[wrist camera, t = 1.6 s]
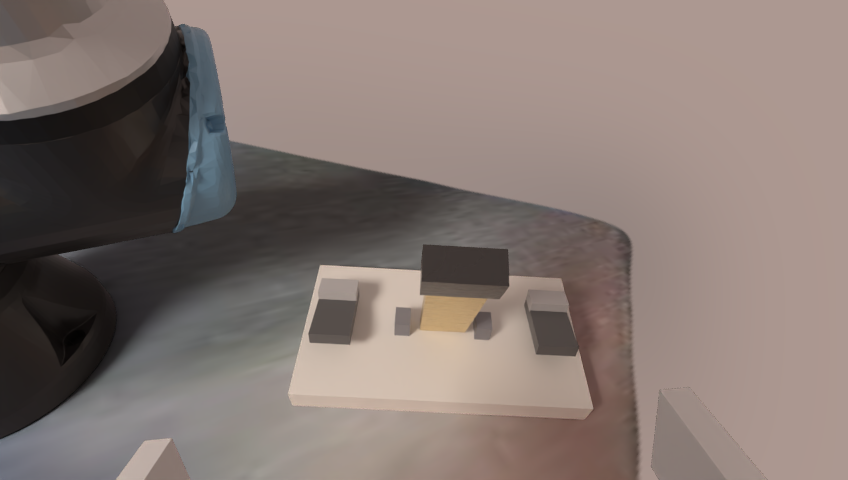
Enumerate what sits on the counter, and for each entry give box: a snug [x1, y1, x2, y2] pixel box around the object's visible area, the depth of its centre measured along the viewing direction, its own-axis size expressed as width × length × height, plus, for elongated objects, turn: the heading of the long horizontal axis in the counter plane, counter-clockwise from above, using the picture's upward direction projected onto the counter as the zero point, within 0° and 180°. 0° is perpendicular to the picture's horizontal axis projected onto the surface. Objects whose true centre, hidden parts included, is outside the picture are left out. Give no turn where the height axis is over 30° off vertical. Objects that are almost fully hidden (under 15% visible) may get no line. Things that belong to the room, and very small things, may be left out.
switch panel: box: [288, 265, 593, 420], centre depth 35 cm, size 22×12×4 cm, turn 89°
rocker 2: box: [524, 289, 579, 356], centre depth 34 cm, size 3×5×2 cm, turn 178°
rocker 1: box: [308, 278, 360, 345], centre depth 33 cm, size 3×5×2 cm, turn 179°
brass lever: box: [420, 245, 509, 333], centre depth 28 cm, size 4×2×14 cm, turn 89°
